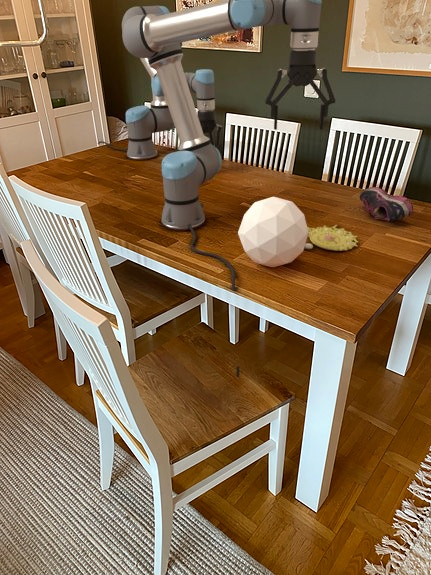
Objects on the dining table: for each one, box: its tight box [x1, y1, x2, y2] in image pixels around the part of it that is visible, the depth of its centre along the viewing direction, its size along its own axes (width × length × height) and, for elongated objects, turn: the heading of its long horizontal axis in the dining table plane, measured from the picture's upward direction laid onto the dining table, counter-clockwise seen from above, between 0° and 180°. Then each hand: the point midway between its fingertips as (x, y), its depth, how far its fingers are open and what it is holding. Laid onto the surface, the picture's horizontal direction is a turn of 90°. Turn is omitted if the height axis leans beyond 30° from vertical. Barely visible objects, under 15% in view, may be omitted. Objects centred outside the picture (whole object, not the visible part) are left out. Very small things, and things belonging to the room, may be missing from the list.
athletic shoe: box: [359, 186, 414, 223], centre depth 153 cm, size 11×22×12 cm
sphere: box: [237, 196, 309, 268], centre depth 125 cm, size 19×20×20 cm
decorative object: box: [304, 224, 359, 252], centre depth 141 cm, size 21×2×20 cm
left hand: (208, 164), depth 200 cm, fingers closed on crayon box, 3 cm apart
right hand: (297, 128), depth 134 cm, fingers open, 13 cm apart
